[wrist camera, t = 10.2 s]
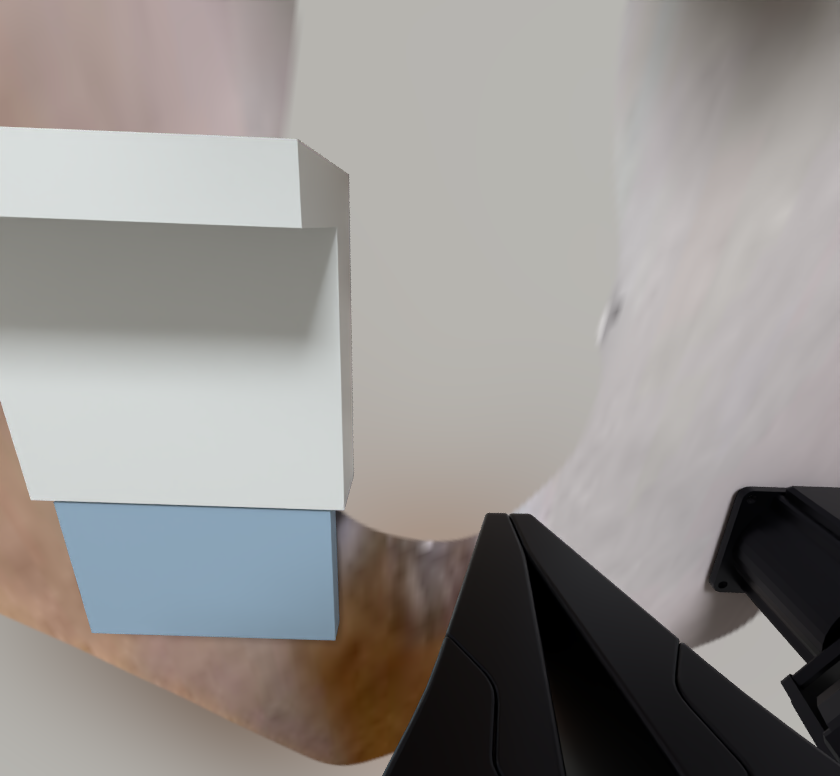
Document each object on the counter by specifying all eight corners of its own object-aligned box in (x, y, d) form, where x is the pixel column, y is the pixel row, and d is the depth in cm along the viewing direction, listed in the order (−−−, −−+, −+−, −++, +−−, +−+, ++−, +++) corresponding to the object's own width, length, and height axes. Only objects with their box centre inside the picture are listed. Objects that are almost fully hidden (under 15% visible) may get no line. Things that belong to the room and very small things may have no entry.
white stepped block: (353, 475, 23) (320, 597, 15) (79, 465, 23) (-90, 584, 15) (349, 174, 18) (297, 138, 11) (1, 160, 18) (-300, 114, 10)
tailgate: (338, 484, 23) (342, 606, 25) (87, 476, 22) (119, 599, 25) (330, 511, 20) (335, 640, 23) (53, 502, 20) (92, 633, 23)
